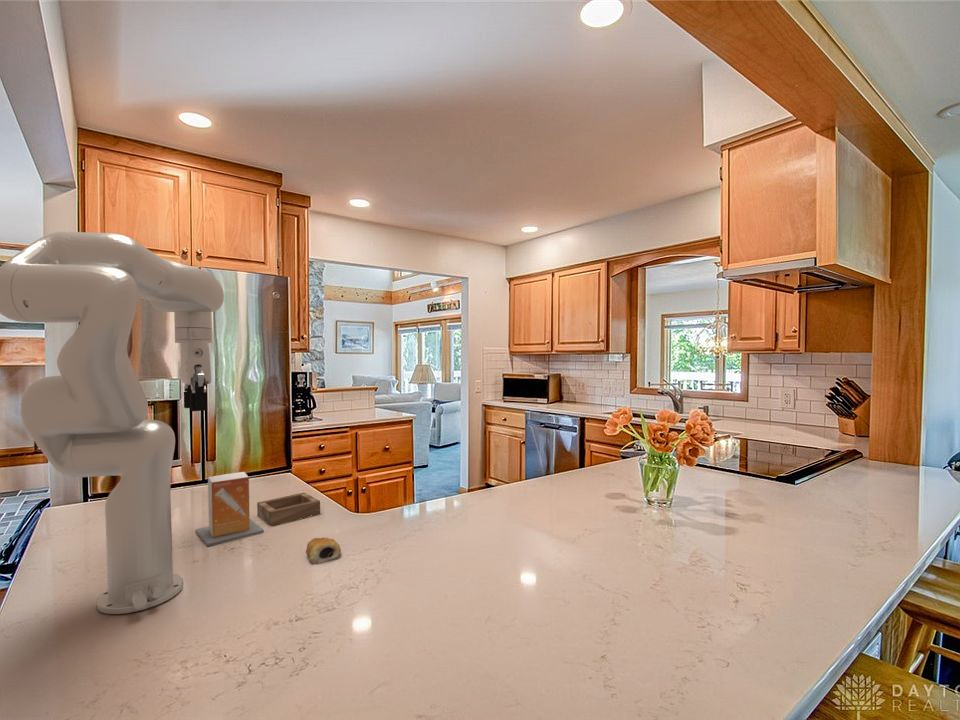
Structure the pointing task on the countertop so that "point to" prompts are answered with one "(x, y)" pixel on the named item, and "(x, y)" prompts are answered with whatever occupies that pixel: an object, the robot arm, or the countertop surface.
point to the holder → (288, 508)
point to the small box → (228, 503)
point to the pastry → (322, 550)
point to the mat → (210, 541)
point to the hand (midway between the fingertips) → (195, 409)
